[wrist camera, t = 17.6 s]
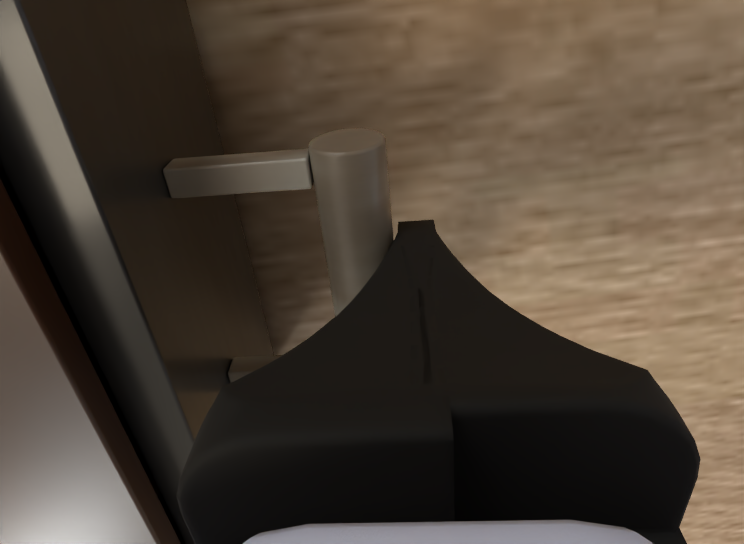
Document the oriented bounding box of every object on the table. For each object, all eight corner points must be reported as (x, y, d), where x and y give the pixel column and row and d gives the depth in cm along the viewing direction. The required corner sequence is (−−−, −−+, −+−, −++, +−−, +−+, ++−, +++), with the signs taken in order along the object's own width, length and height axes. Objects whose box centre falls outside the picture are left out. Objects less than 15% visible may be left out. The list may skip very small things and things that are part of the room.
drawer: (376, -63, 11) (361, -61, 6) (408, 380, 17) (413, 553, 12) (-358, 15, 12) (-857, 70, 7) (-71, 399, 18) (-233, 562, 14)
